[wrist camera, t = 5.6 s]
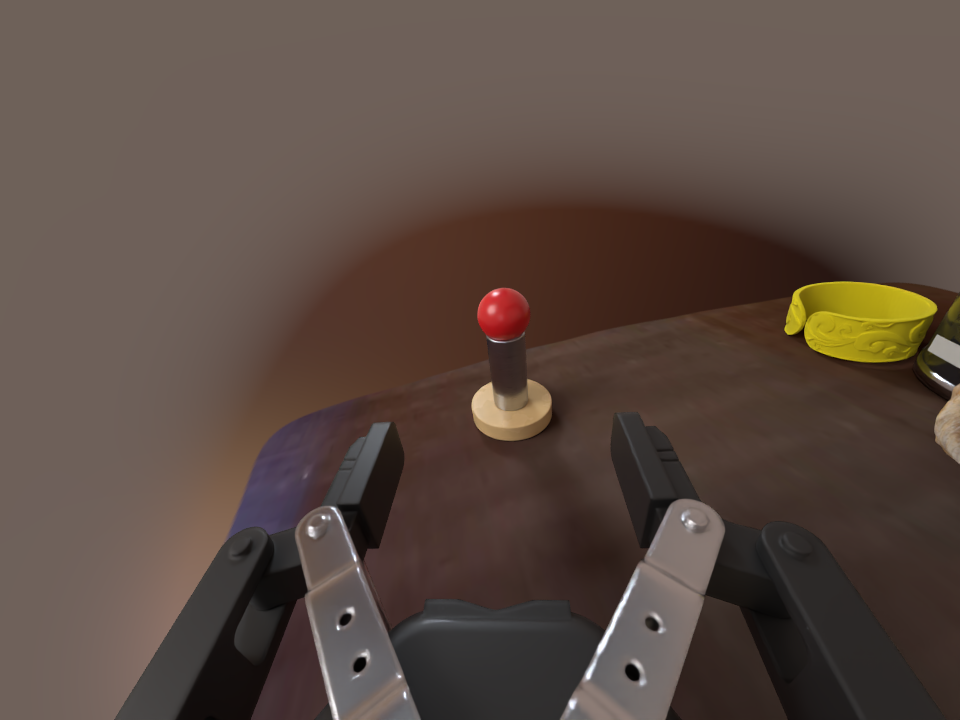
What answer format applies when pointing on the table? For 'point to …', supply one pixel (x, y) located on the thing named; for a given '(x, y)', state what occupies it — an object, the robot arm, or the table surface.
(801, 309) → the bracelet
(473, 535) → the table surface
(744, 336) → the table surface
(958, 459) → the lion figurine
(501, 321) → the red ball post
